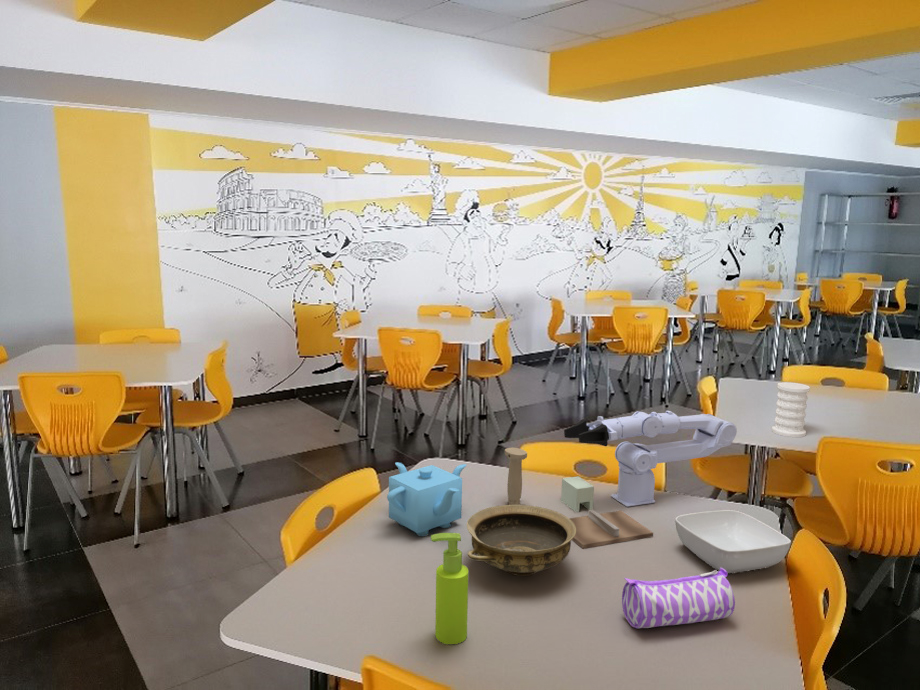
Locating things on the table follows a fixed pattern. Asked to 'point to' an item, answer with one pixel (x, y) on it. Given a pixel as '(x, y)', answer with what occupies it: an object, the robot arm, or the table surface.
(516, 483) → the handle
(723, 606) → the pencil case
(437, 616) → the soap dispenser
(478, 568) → the table surface
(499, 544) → the ceramic bowl
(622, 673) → the table surface
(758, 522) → the square bowl
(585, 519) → the cleat board
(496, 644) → the table surface
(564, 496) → the cabinet block
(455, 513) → the teakettle
